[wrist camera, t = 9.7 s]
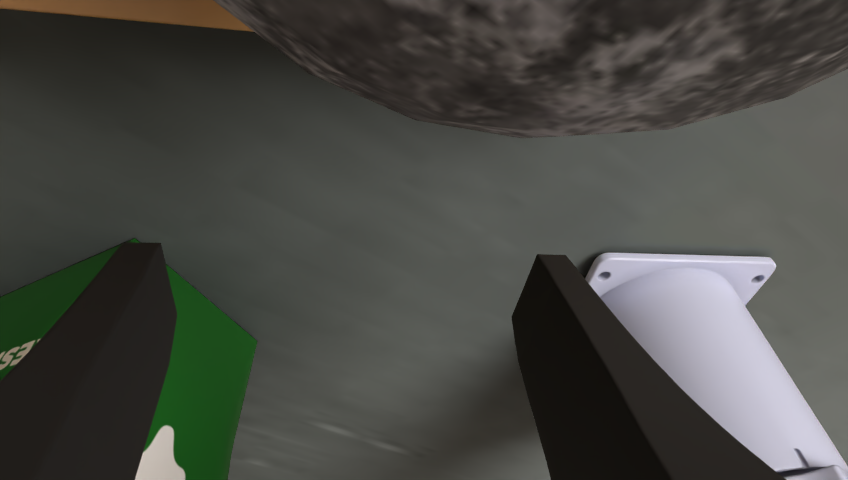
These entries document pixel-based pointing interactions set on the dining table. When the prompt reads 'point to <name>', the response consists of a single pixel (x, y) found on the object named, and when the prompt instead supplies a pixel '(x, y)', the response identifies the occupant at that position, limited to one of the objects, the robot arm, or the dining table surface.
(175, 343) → the milk carton
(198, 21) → the shelf stand
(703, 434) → the robot arm
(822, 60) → the grey stone finial
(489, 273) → the dining table surface
